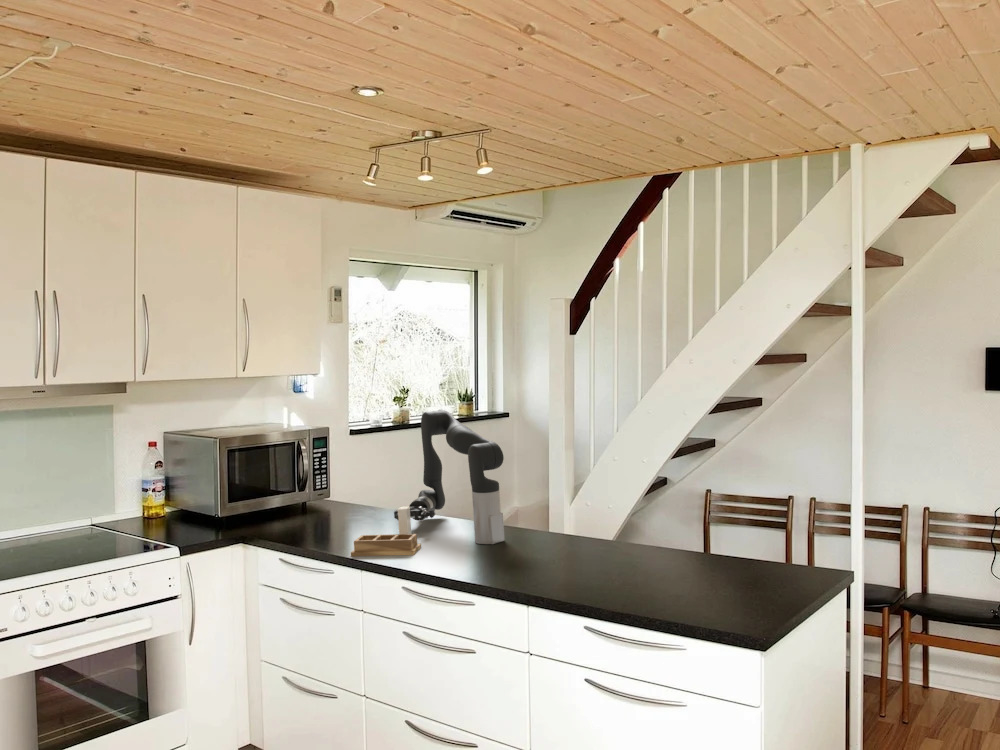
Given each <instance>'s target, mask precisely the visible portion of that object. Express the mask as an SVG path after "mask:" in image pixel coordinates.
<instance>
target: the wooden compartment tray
mask: <svg viewBox="0 0 1000 750" xmlns="http://www.w3.org/2000/svg"><path fill="white" fill-rule="evenodd" d="M421 548H422V543H418V534H417V533H411V534H399V533H396V534H395V533H393V534H392V533H391V534H362V535H360V536H359V537H357V538H356V539H355V540H353V550H351V552H350V557H370V556H371V557H374V556H375V557H376V556H378V557H379V556H414V555H415V554H416V553H417V552H418V551H419V550H420V549H421Z"/></svg>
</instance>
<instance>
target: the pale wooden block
mask: <svg viewBox="0 0 1000 750" xmlns="http://www.w3.org/2000/svg"><path fill="white" fill-rule="evenodd" d="M397 509H398V520H397V521H398V534H412V522H411V518H410V506H400V507H398V508H397Z"/></svg>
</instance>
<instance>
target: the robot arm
mask: <svg viewBox="0 0 1000 750" xmlns="http://www.w3.org/2000/svg"><path fill="white" fill-rule="evenodd" d="M420 431H421V442H422V451H423V452H422V453H423V479H422V480H423V484H424V485H425V486H426V487H428V488H430V489H432V490H430V489H423V490H420V491H419V492H418V493H419V494H418V497H417V498H416V499H414V500H413V501H411V503H410V504H409V506H410V519H413V520H414V521H424V520H425V519H428V518H431V519H432V518H434V517H435V516H436V510H437V511H439V510H442V509H443V508H444V506H445V504H446V496H445V491H444V488H443V482H442V479H443V478H442V476H443V464H442V460H441V458H440V457H439V455H438V453H437V451H436V450H435V448H434V445H433V442H432V441H433V439H432V437H433V436H439V435H440V436H441V435H442V436H443V435H445V439H446V443H447V444H448V446H449V447H451V449H453V450H454V451H455V452H458V453H459V454H462V455H467V459H468V468H469V479H470V484H471V485H470V486H471V495H472V510H473V511H472V512H473V513H472V514H473V528H474V529H473V531H474V542H475V544H479V545H494V544H498V543H501V542H504V541H505V529H504V528H505V526H504V525H505V523H504V512H502V511H501V494H500V483H499V481H498V480H496V479H491V478H488V477H486V476H485V473H484V471H485V472H486V471H492V470H493V471H494V470H496V469H498V468H500V467H501V466H502V464H503V463H504V459H505V458H504V452H503V450H502V448H501V447H500V446H499V444H498V443H496V442H494V441H493V440H489V439H487V438H485V437H483V436H482V435H480V434H478V433H477V432H475V431H473V430H472V429H471V428H469V427H468V426H466V425H464V424H462V423H461V422H460V421H458V420H457V418H455V417H454V416H453V415H452V414H451V413H450V412H449V411H447V410H446V409H442V410H430V411H429V410H428V411H424V412H423V413H422V414H421V419H420ZM398 509H399V508H397V509H395V510H394V511H393V516H394V517H393V518H394V519H395V520H397V521H398Z"/></svg>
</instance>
